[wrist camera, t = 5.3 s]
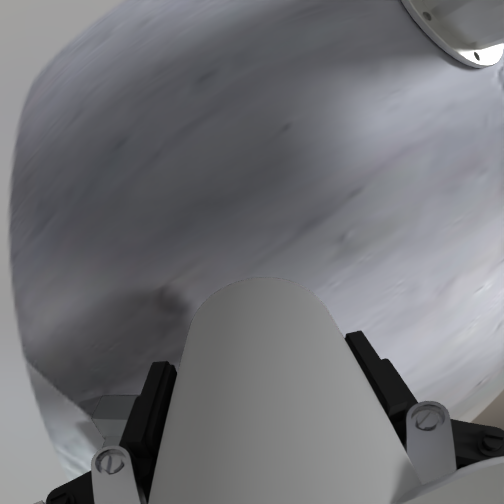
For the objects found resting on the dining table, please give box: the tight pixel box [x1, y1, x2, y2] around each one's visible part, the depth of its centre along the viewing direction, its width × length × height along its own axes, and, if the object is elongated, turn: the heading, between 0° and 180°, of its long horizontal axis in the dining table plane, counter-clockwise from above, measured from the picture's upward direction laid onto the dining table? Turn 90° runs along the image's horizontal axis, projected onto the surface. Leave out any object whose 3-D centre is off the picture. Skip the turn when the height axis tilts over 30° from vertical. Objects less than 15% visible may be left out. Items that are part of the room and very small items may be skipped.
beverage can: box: [148, 277, 422, 504], centre depth 8 cm, size 6×6×12 cm
